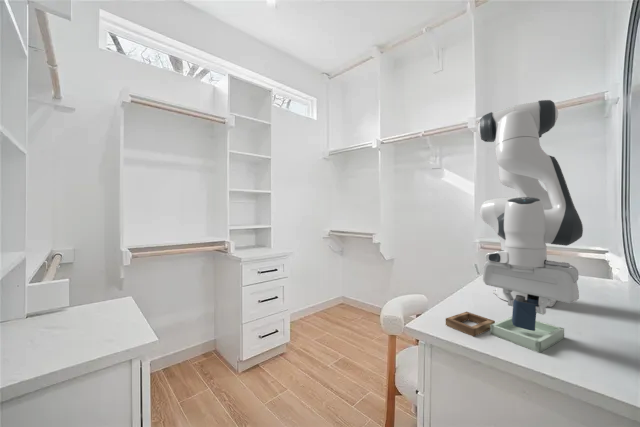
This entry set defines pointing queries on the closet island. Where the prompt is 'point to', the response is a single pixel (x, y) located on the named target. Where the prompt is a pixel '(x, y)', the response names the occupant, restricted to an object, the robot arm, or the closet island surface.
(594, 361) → the closet island surface
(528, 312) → the vaping device
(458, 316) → the holder
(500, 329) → the tray
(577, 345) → the closet island surface
